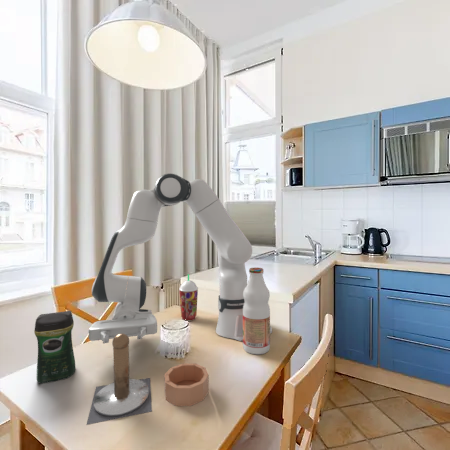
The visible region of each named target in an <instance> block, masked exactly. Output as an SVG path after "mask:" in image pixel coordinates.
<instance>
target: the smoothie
mask: <svg viewBox="0 0 450 450" xmlns="http://www.w3.org/2000/svg"><path fill="white" fill-rule="evenodd" d="M178 291H179V293H178V294H179V304H180V308H179V309H180V317H181V318H182V320H183V319H184V320H183V321H185V319H186V320H192V321H194V320H196V317H197V311H198V310H197V309H198V295H199V294H198V292H199V287H198V286H197V284H196V283H195V281H193V280H190V274H189V273H187V279H186V280H185V281H183V282H182V283H181V284H180V286H179V289H178Z"/></svg>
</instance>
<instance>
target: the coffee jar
mask: <svg viewBox="0 0 450 450" xmlns="http://www.w3.org/2000/svg"><path fill="white" fill-rule="evenodd" d="M73 328H74V317H73V313H72V311H71V310H65V311H60V312H59V311H58V312H49V313H40V315H38V316H37V317H36V319H35V324H34V330H33V331H34V335H35V338H36V340H37V341H36V342H37V358H36V359H37V360H36V361H37V363H36V382H37V383H39V384H45V383H53V382H58V381H62V380H65V379H68V378H70V377H71V376H73V375H74V373H75V371H76V358H75V353H74V347H73V340H72V339H73V338H72V337H73V335H72V331H73Z"/></svg>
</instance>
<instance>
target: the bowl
mask: <svg viewBox="0 0 450 450" xmlns="http://www.w3.org/2000/svg"><path fill="white" fill-rule="evenodd" d="M163 375H164V376H163V377H164V396H165V400H166V401H167V402H168V403H170V404H173V405H174V406H175V407H191V406H193V405H196V404H199V403H200V402H203V401H204V400H205V398H206V397H207V395H208V393H209V387H210V386H209V385H210V383H209V380H210V379H209V376H210V375H209V372H208V371H207V368H206V367H205V366H203V365H200V364H198V363H196V362H194V363H190V362H189V363H187V362H186V363H185V362H183V363H180V364H177V365H175V366H172V367H170V368H169V369H168V370H167V371H166V372H165V373H164V374H163Z"/></svg>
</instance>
